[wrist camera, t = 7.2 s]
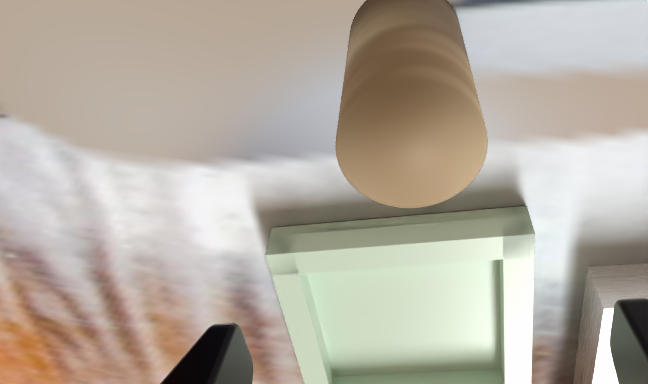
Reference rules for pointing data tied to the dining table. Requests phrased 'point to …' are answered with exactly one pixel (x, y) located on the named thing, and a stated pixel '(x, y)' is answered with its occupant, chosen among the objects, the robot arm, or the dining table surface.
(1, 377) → the dining table surface
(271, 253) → the tray
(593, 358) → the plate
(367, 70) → the dowel
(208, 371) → the robot arm
